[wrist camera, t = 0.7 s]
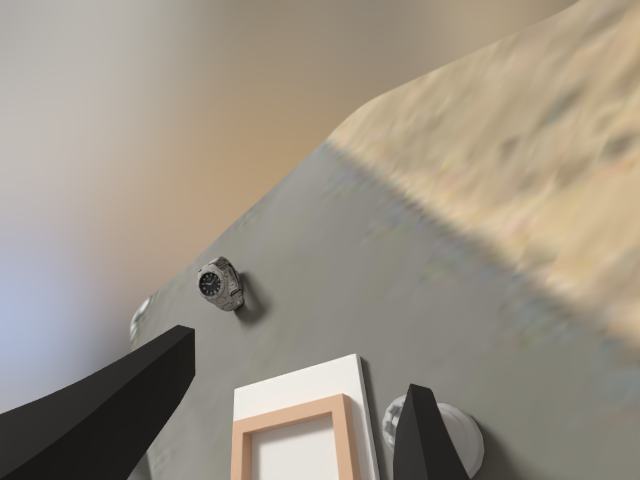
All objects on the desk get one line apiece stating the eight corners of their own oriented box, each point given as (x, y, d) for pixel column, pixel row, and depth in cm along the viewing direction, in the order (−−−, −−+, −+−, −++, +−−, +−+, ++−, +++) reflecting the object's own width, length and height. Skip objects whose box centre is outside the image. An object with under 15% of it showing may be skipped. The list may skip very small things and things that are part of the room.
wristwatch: (227, 320, 39) (192, 303, 36) (222, 276, 44) (190, 256, 40) (254, 304, 39) (220, 285, 35) (245, 260, 43) (215, 239, 39)
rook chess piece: (484, 495, 22) (449, 493, 16) (409, 472, 24) (356, 464, 18) (487, 412, 24) (458, 385, 18) (418, 399, 26) (372, 371, 20)
